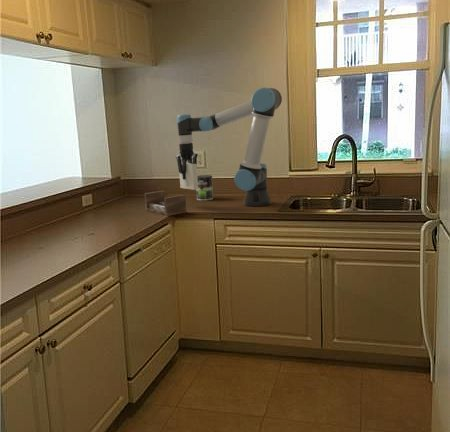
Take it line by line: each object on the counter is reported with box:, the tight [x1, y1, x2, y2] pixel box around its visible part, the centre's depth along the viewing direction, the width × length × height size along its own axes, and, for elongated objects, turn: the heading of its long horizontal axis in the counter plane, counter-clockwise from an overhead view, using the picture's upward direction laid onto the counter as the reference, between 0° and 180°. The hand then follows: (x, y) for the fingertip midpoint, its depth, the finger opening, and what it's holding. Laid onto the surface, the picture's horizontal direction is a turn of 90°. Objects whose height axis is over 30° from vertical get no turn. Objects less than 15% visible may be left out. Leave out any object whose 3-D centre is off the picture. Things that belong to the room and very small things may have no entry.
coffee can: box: [195, 174, 214, 201], centre depth 320 cm, size 10×10×14 cm
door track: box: [143, 190, 187, 217], centre depth 289 cm, size 24×12×10 cm, turn 36°
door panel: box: [178, 162, 198, 191], centre depth 295 cm, size 14×3×14 cm, turn 36°
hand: (188, 184), depth 296 cm, fingers closed on door panel, 3 cm apart
